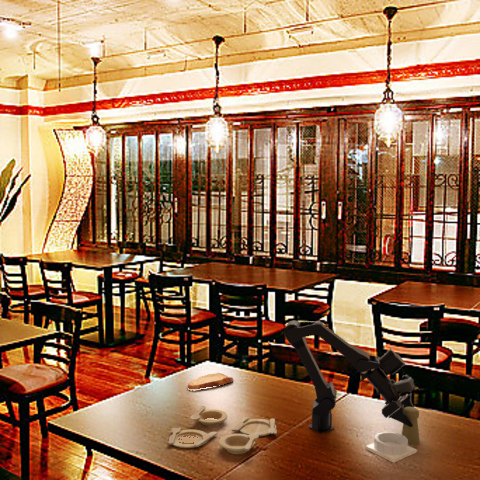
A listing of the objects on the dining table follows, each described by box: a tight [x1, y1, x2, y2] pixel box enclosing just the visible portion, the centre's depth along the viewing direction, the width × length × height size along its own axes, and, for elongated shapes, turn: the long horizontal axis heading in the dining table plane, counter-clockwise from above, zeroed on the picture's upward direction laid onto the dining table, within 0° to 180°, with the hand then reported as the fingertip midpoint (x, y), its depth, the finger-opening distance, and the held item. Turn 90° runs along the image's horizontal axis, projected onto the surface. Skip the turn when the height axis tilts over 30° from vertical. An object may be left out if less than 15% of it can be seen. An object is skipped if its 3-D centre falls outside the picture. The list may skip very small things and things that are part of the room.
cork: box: [401, 406, 421, 446], centre depth 184 cm, size 6×6×11 cm
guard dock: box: [365, 431, 417, 464], centre depth 177 cm, size 11×11×4 cm
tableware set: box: [167, 405, 278, 455], centre depth 189 cm, size 35×29×4 cm
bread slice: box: [187, 372, 234, 389], centre depth 238 cm, size 18×18×4 cm
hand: (415, 421), depth 183 cm, fingers open, 8 cm apart
